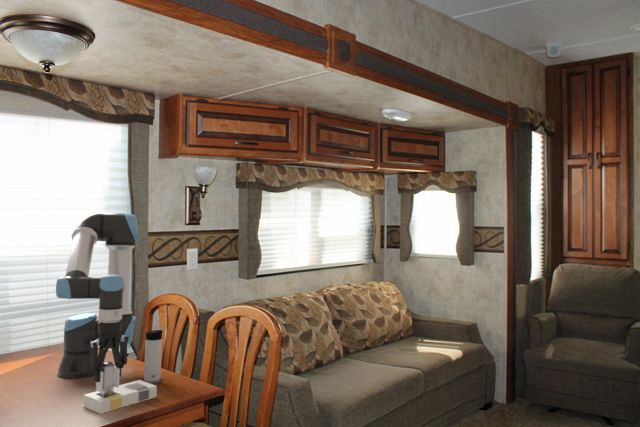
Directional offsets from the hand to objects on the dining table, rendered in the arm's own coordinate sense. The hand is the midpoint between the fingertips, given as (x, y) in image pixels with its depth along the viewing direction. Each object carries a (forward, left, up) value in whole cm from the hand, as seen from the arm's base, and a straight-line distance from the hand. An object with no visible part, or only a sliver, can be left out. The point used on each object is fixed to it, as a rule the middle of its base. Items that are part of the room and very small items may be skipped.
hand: (107, 388), depth 186 cm
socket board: (0, +5, -6) cm, 8 cm away
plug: (0, 0, -6) cm, 6 cm away
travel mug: (-10, +27, -6) cm, 29 cm away
